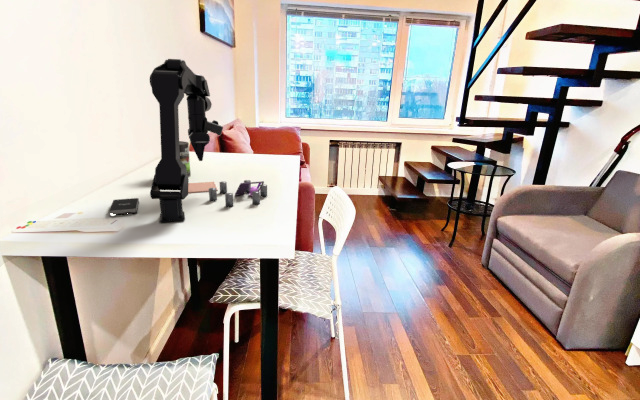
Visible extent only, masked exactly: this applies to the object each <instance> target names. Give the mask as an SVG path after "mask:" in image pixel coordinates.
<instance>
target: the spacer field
mask: <svg viewBox="0 0 640 400" xmlns="http://www.w3.org/2000/svg"><path fill="white" fill-rule="evenodd" d="M249 182H252V181H251V180H249V179H245V180H243V183H249ZM227 185H228V183H227V181H220V182H219V193H220V194H221V195H224V197H225V198H224V199H225V201H224V202H225V207H226V208H233V207H234V193H233V192H228V186H227ZM251 187H252V184H249V186H248V188H247V189H246V191H245V193H246V192H247V191H250V188H251ZM216 188H217V187H216ZM216 188H209V192H208V198H209V202H217V201H218V195H217V194H218V193H217V192H218V191H217V190H218V189H217V190H216ZM259 188H260V190H259V191H253V192H252V196H251V197H252V198H251V199H252V202H251V203H252V205H253V206H257V205H260V204H261V202H260V201H261V198H267V197H268V185H267V184H263V185H260V187H259ZM260 196H261V197H260ZM266 196H267V197H266Z"/></svg>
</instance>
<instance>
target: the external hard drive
mask: <svg viewBox="0 0 640 400" xmlns="http://www.w3.org/2000/svg"><path fill="white" fill-rule="evenodd" d="M139 206H140V200H139V198H138V197H134V198H133V197H132V198H121V199H119V198H118V199H113V200H112V203H111V205H110V207H109V208H108V214H109V213H113V214H116V215H122V216H129V215H128V214H133V215H137V213H138V209H139ZM127 213H128V214H127Z"/></svg>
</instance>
